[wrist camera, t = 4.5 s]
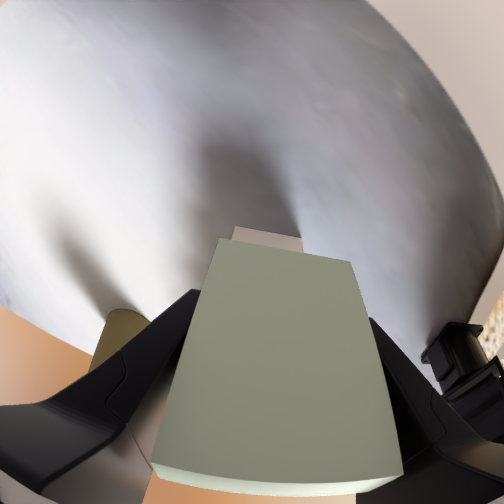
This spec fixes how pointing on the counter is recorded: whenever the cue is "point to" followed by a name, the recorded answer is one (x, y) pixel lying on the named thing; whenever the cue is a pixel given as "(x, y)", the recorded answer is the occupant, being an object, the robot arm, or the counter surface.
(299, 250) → the domino
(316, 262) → the sage domino
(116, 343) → the cork
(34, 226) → the counter surface
